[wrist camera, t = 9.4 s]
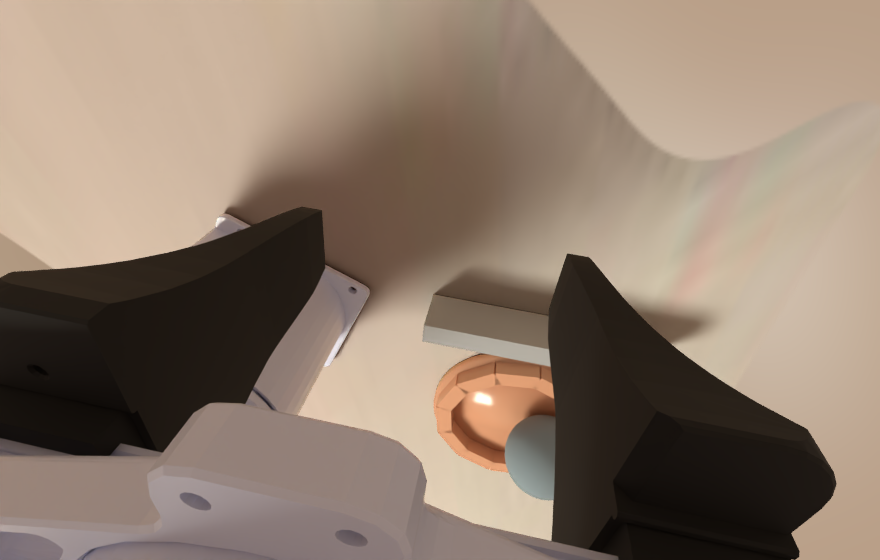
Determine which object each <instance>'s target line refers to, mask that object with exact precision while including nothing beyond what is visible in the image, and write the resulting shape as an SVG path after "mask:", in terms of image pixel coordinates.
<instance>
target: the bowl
mask: <svg viewBox="0 0 880 560" xmlns="http://www.w3.org/2000/svg"><path fill="white" fill-rule="evenodd" d="M434 412H435V416H436V419H437V431H438V433H439V434H440V436H441V437H442V438H443V439H444V440H445V441H446V442H447V444H448V445H449V446H450V447H451V448H452V449H453V450H454V452H455V453H456V454H458V455H459V456H461V457H463V458H465V459H467V460H469V461H472V462H474V463H476V464H478V465H480V466H482V467H484V468H486V469H490V470H494V471H501V472H508V469H507V466H506V462H505V445H506V441H507V438H508V436H509V434H510V432H511V431H512V429H513V428H514V427H515V426H516V425H517V424H518V423H519V422H520V421H522V420H523V419H525V418H527V417H530V416H534V415H550V416H554V417H555V402H554V393H553V384H552V375H551V367H550V366H545V365H540V364H535V363H530V362H525V361H519V360H514V359H509V358H504V357H499V356H494V355H489V354H481V355H477V356H474V357H471V358H468V359H466V360H464V361H462V362H460V363H458V364H456V365H455V366H454V367H452V368H451V369H450V370H449V371H448V372H447V373H446V374H445V375H444V376H443V377H442V379H441V380H440V382H439V384H438V386H437V389H436V394H435V398H434ZM508 473H509V472H508Z"/></svg>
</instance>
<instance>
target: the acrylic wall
mask: <svg viewBox="0 0 880 560" xmlns="http://www.w3.org/2000/svg"><path fill="white" fill-rule="evenodd" d="M548 319H549V316H547V315H541V314H536V313H531V312H525V311H520V310H515V309H509V308H504V307H499V306H493V305H488V304H483V303H477V302H472V301H467V300H461V299H456V298H451V297H445V296H440V295H435V294H433V297H432V301H431V304H430V307H429V311H428V314H427V317H426V321H425V324H424V330H423V340H422V341H423V342H428V343H433V344H438V345H443V346H448V347H453V348H458V349H463V350H469V351H474V352H479V353H484V354H489V355H494V356H499V357H504V358H509V359H514V360H519V361H525V362H530V363H535V364H540V365H545V366H550V367H551V365H550V356H549V346H548Z"/></svg>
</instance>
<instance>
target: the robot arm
mask: <svg viewBox="0 0 880 560" xmlns="http://www.w3.org/2000/svg"><path fill="white" fill-rule="evenodd" d="M241 229H242V230H241ZM351 287H354V288H355V289H356V290H353V289H352V288H351ZM369 295H370V290H369V289H368V287H366V286H365V285H363V284H361V283H359V282H357V281H356V280H354V279H352V278H350V277H348V276H346V275H344V274H342V273H340V272H338V271H336V270H334V269H333V268H331V267H329V266H327V265H325V253H324V237H323V222H322V210H317V209H311V208H305V207H300V208H296V209H293V210H290V211H288V212H285V213H282V214H280V215H277V216H275V217H272V218H270V219H268V220H265V221H263V222H260V223H258V224H255V225H253V226H250V225H248V224H246V223H244V222H242V221H240V220H238V219H237V218H235V217H233V216H231V215H229V214H222V215H220V216H219V217H218V218H217V220H216V225H215V228H214V229H213V230H212V231H210V232H209V233H208V234H207V235H205V236H204V237H203V238H202V239H200V240H199V241H198V242H197V243H195V244H194V245H193V246H192V247H188V248H185V249H181V250H177V251H173V252H169V253H164V254H159V255H154V256H149V257H144V258H139V259H134V260H129V261H123V262H116V263H109V264H102V265H94V266H85V267H76V268H65V269H50V270H37V271H21V272H11V273H8V274H6V275H5V276H3V277H1V278H0V560H791V559H794V560H795V559H797V558H798V557H799V549H798V547H797V545H796V543H795V541H794V539H793V537H792V534H791V533H792V532H793V531H794V530H795V529H797V528H798V527H799V526H801V525H802V524H803V523H804V522H806V521H807V520H808V519H809V518H811V517H812V516H813V515H814V514H815V513H817V512H818V511H819V510H820V509H822V507H823V506H824V505H825V504H826V503H827V502H828V501H829V500H830V499H831V497H832V496H833V493H834V490H835V487H836V480H835V476H834V472H833V470H832V469H831V467H830V465H829V464H828V462H827V461H826V459H825V457H824V455H823V454H822V452H821V451H820V449H819V447H818V446H817V444H816V443H815V441H814V439H813V438H812V436H811V434H810V433H809V431H808V430H807V429H806V428H804V427H802V426H800V425H798V424H796V423H794V422H793V421H791V420H789V419H787V418H785V417H783V416H781V415H779V414H778V413H775V412H774V411H772V410H770V409H768V408H766V407H764V406H762V405H761V404H759V403H757V402H755V401H753V400H752V399H750V398H748V397H747V396H745V395H743V394H742V393H740V392H738V391H737V390H735V389H734V388H732V387H730V386H729V385H727V384H725V383H724V382H722V381H721V380H719V379H718V378H716V377H715V376H713V375H712V374H710V373H709V372H707V371H706V370H705V369H703V368H702V367H700V366H699V365H698V364H696V363H695V362H693V361H692V360H691V359H689V358H688V357H687V356H685V355H684V354H683V353H681V352H680V351H679V350H678V349H676V348H675V347H674V346H673V345H672V344H670V343H669V342H668V341H667V340H666V339H664V338H663V337H662V336H661V335H660V334H659V333H657V332H656V331H655V330H654V329H653V328H652V327H651V326H650V325H649V324H648V323H647V322H646V321H645V320H644V319H643V318H642V317H641V316H640V315H639V314H638V313H637V312H636V311H635V310H634V309H633V308H632V307H631V306H630V305H629V304H628V303H627V301H626V300H625V299H624V298H623V297H622V296H621V295H620V294H619V292H618V291H617V290H616V289H615V288H614V286H613V285H612V284H611V283H610V282H609V280H608V279H607V278H606V277H605V276H604V274H603V273H602V272H601V271H600V269H599V268H598V267H597V266H596V265H595V263H594V262H593V261H592V260H591V259H590V258H589V257H584V256H578V255H573V254H567V256H566V259H565V262H564V265H563V268H562V271H561V274H560V277H559V280H558V283H557V286H556V289H555V292H554V295H553V299H552V302H551V305H550V308H549V319H548V346H549V356H550V365H551V375H552V384H553V393H554V402H555V478H554V504H553V526H552V541H548V540H544V539H539V538H535V537H530V536H526V535H522V534H517V533H513V532H508V531H504V530H500V529H495V528H491V527H486V526H482V525H478V524H473V523H471V522H469V521H466V520H464V519H461V518H459V517H457V516H454V515H452V514H450V513H447V512H445V511H443V510H440V509H438V508H436V507H433V506H431V505H429V504H426V503H424V495H425V489H426V483H427V480H426V477H425V473H424V470H423V467H422V463H421V462H420V460H419V459H418V458H417V457H416V456H415V455H413V454H412V453H411V452H410V451H409V450H408V449H406V448H405V447H404V446H403V445H402V444H401V443H399V442H398V441H395V440H393V439H390V438H388V437H385V436H382V435H380V434H377V433H374V432H372V431H368V430H363V429H358V428H354V427H349V426H344V425H340V424H335V423H330V422H326V421H321V420H316V419H312V418H307V417H302V416H298V413H299V412H300V410H301V408H302V406H303V404H304V402H305V400H306V398H307V396H308V395H309V393H310V391H311V389H312V387H313V385H314V383H315V381H316V379H317V378H318V376H319V374H320V372H321V370H322V368H323V366H330V365H331V363H332V361H333V359H334V358H335V356H336V354H337V352H338V350H339V349H340V347H341V345H342V343H343V341H344V340H345V338H346V336H347V334H348V333H349V331H350V329H351V327H352V325H353V324H354V322H355V320H356V318H357V317H358V315H359V313H360V311H361V309H362V308H363V306H364V304H365V302H366V300H367V299H368V297H369Z"/></svg>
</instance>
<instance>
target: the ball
mask: <svg viewBox="0 0 880 560" xmlns="http://www.w3.org/2000/svg"><path fill="white" fill-rule="evenodd" d="M505 462H506V466H507V469H508V472H509V474H510V476H511V478H512V479H513V481H514V482H515V484H516V485H517V486H518V487H519V488H520V489H521V490H522V491H524V492H525V493H527V494H528V495H530V496H532V497H535V498H537V499H541V500H554V478H555V417H554V416H550V415H534V416H530V417H527V418H525V419H523V420H522V421H520V422H519V423H518V424H517V425H516V426H515V427H514V428H513V429H512V431H511V432H510V434H509V436H508V438H507V441H506V445H505Z"/></svg>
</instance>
